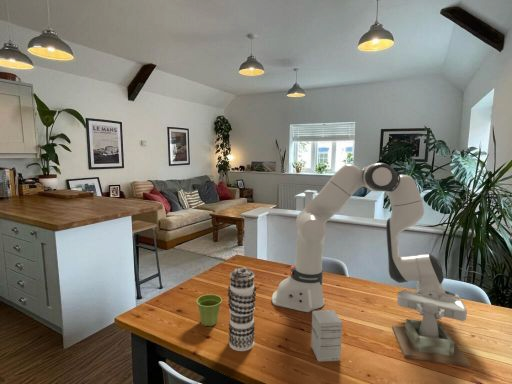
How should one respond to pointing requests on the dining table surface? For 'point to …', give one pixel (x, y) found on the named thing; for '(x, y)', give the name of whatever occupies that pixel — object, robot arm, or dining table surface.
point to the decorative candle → (241, 309)
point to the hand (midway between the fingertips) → (430, 315)
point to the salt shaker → (429, 321)
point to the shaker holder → (428, 345)
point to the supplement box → (326, 335)
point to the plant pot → (209, 309)
